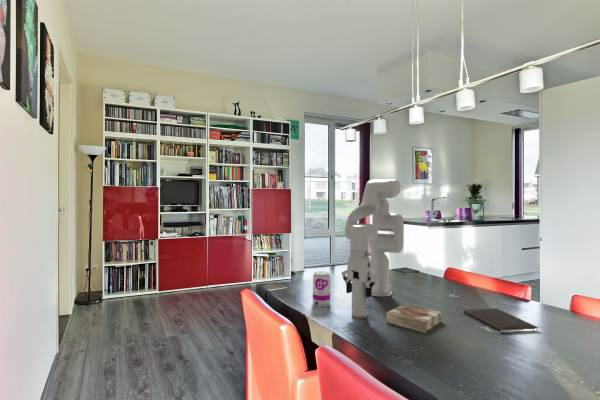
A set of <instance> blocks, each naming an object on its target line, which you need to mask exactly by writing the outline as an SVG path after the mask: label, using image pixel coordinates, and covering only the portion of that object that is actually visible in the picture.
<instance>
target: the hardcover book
mask: <svg viewBox="0 0 600 400" xmlns="http://www.w3.org/2000/svg"><path fill="white" fill-rule="evenodd" d="M462 313H464V315H465V314H466V315H465V316H467V315H468V316H467V317H469V316H470V317H472V318H474V319H476V320H478V321H480V322H481V323H483V324H485V325H487V326H489V327H491V328H493V329H495V330H497V331H499V332H500V331H510V330H523V329H535V328H536V329H538V328H539V327H538V326H537V325H533V324H531V323H529V322H527V321H526V320H523V319H521V318H519V317H516V316H514V315H512V314H509V313H508V312H505V311H503V310H501V309H499V308H471V309H464V310H463V312H462ZM470 317H469V318H470ZM472 318H471V319H472ZM474 319H473V320H474ZM476 320H475V321H476ZM478 321H477V322H478ZM481 323H480V324H481ZM483 324H482V325H483ZM485 325H484V326H485ZM487 326H486V327H487ZM489 327H488V328H489Z"/></svg>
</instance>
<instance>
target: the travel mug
mask: <svg viewBox="0 0 600 400" xmlns="http://www.w3.org/2000/svg"><path fill="white" fill-rule="evenodd" d="M352 272H353V278H352V279H353V280H352V281H351V283H352V292H351V317H352V318H353V319H357V320H363V319H367V316H368V314H367V312H368V311H367V306H368V303H367V299H368V298H367V297H366V288H367V286H366V284H365V283H363V282H360V279H359V272H356V271H353V270H352Z"/></svg>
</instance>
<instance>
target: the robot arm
mask: <svg viewBox="0 0 600 400" xmlns="http://www.w3.org/2000/svg"><path fill="white" fill-rule="evenodd" d="M363 191H364V192H363V195H362V199H361V203H360V205H358V206H357V207H356V208H355V209H353V210H352V211H351V212H350V213H349V214H348V217H347V219H346V223H345V228H344V236H345V237H346V239H347V240H350V243H349V244H350V245H349V247H350V248H349V249H350V250H349V253H350V254H349V257H348V261H347V267H346V270H344V271H341V276H342V279H343V281H344V284H345V288H346V294H352V280H353V279H352V278H353V272H352V270H353V271H356V272H359V279H360V282H363V283H365V284H366V286H367V288H366V297H367V299H368V298H370V297H372V296H373V297H379V298H380V297H381V298H385V297H391V296H392V295H393V292H392V291H391V290H390V289H391V288H392V287H393V285H392V283H390V259H389V257H388V256H387V255H386V253H388V254H389V253H393V254H400V253H402V251H403V250H404V241H405V239H404V236H405V234H404V231H405V230H404V227H405V224H404V223H405V222H404V218H403V215H401V214H400V213H395V212H390V203H389V201H388V199H394V198H396V197H398V196H399V194H400V192H401V183H400V181H399V180H398V179H394V178H393V179H370V180H368V181H367V182H366V183H365V187H364V190H363ZM369 216H372V217H371V218H372V220H371V221H372V224H371V223H357V222H358V221H360V220H362V219H364V218H367V217H369ZM379 232H393V233H390V234H389V233H379ZM369 251H370V252H369Z"/></svg>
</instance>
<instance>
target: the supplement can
mask: <svg viewBox="0 0 600 400" xmlns="http://www.w3.org/2000/svg"><path fill="white" fill-rule="evenodd" d="M312 304H313V305H314V306H315V307H319V308H325V307H326V308H327V307H329V306H330V305H331V275H330V272H328V271H315V272H314V273H313V275H312Z"/></svg>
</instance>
